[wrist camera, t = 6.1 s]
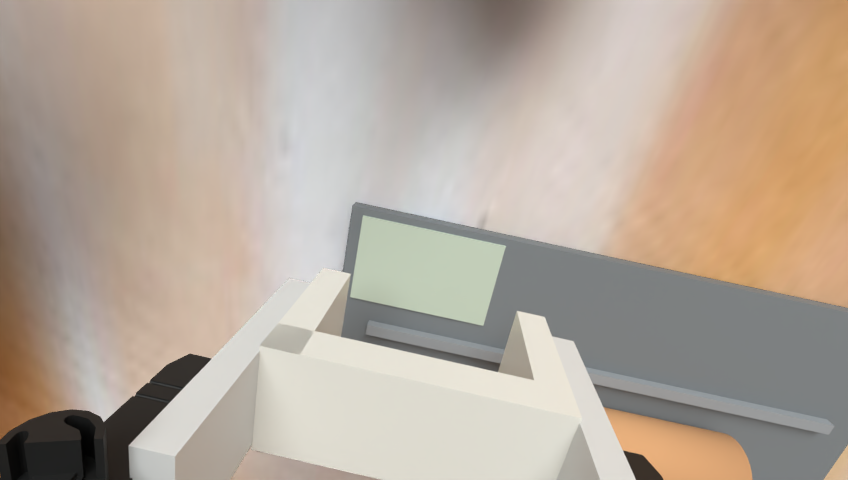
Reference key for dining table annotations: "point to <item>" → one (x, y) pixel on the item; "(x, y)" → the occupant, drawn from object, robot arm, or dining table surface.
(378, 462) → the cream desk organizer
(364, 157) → the dining table surface
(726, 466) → the tan cylindrical rod
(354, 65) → the dining table surface
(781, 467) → the guide mat
